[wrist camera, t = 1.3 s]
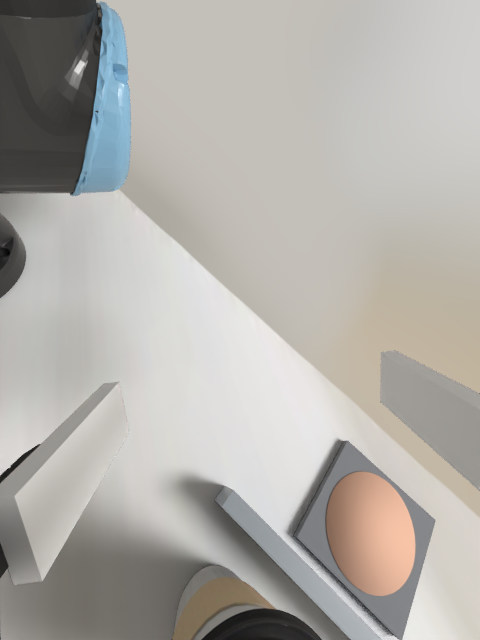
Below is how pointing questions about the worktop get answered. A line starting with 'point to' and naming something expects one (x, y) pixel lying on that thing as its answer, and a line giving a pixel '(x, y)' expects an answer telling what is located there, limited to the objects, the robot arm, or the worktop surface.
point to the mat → (368, 536)
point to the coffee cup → (232, 611)
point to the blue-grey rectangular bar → (294, 567)
